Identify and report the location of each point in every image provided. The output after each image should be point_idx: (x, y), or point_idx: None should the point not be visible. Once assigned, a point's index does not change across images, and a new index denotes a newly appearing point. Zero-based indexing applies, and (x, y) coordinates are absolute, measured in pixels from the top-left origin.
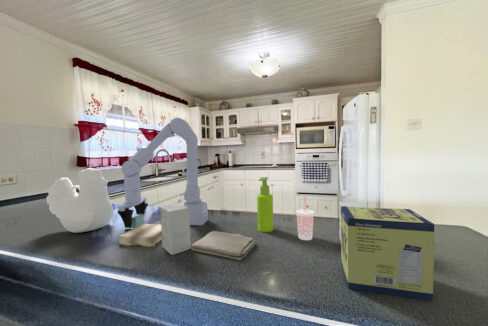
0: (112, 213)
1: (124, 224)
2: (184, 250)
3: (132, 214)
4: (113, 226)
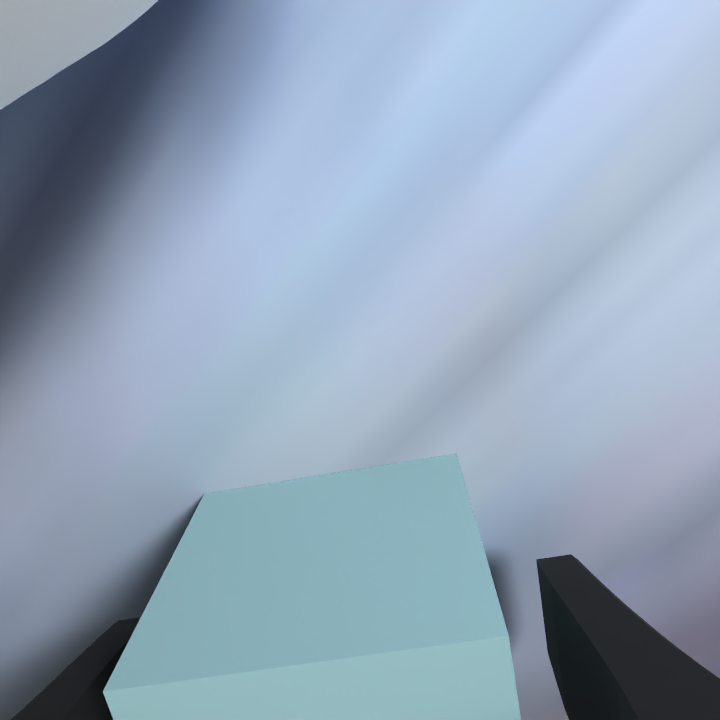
0: (5, 89)
1: (77, 667)
2: None
3: (423, 701)
4: (254, 58)
